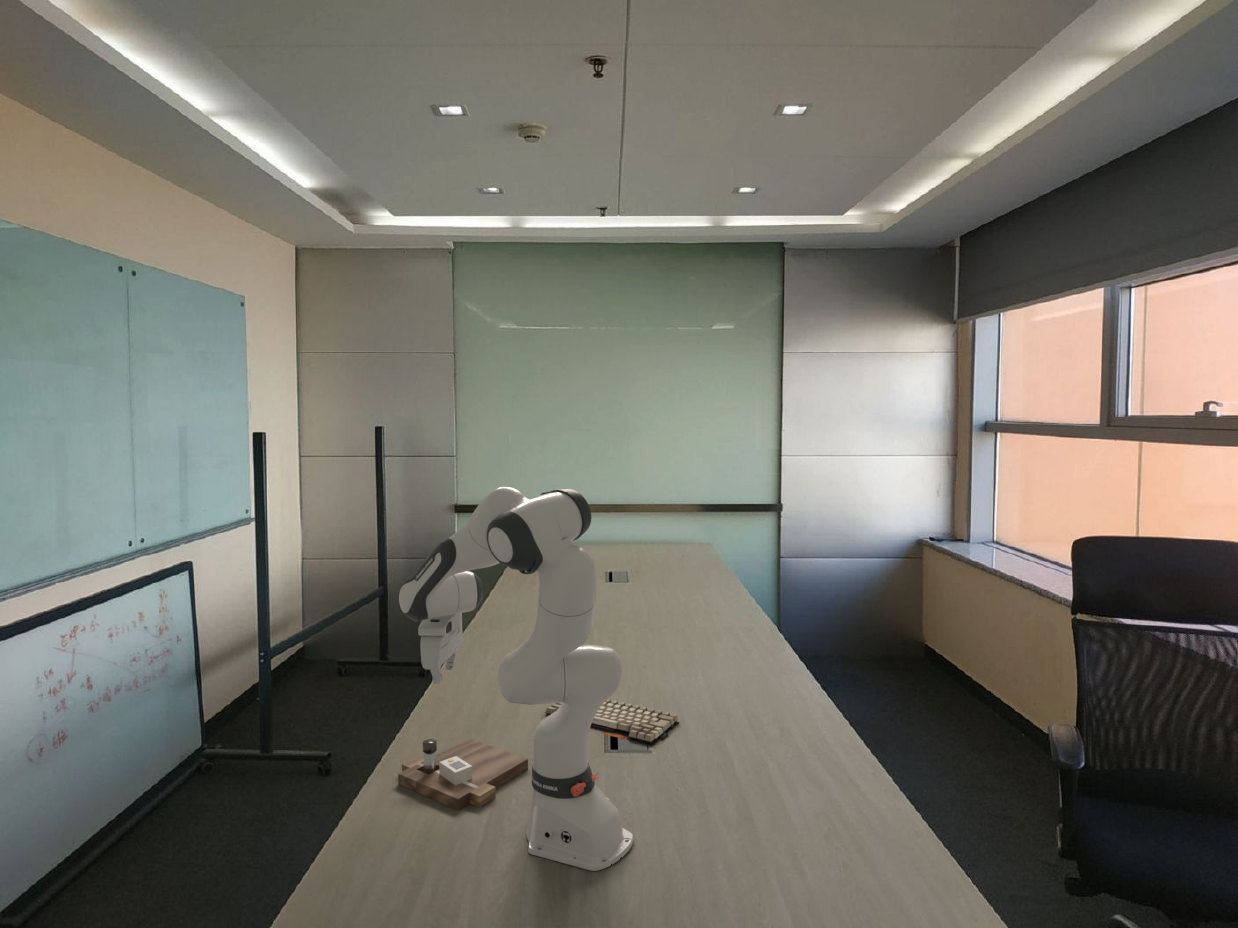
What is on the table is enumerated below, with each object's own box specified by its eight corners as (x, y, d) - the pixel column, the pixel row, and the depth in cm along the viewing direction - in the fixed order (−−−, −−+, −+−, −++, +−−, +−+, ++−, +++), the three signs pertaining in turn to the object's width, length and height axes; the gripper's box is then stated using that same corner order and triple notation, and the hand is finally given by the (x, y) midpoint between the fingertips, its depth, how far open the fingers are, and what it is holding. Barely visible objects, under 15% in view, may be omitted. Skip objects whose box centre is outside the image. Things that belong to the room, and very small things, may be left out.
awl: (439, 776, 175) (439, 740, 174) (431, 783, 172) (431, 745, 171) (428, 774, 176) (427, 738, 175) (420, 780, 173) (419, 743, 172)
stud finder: (472, 778, 169) (472, 765, 169) (455, 785, 166) (455, 771, 165) (456, 768, 174) (456, 755, 174) (439, 774, 171) (439, 761, 170)
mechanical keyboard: (537, 720, 209) (537, 708, 209) (572, 698, 226) (572, 687, 226) (655, 750, 191) (655, 737, 191) (684, 723, 208) (684, 712, 208)
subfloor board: (537, 772, 177) (537, 762, 177) (467, 814, 158) (467, 803, 158) (462, 744, 192) (461, 735, 192) (390, 780, 173) (389, 770, 173)
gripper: (444, 608, 185) (444, 661, 186) (415, 630, 165) (416, 690, 166) (468, 608, 185) (469, 662, 185) (442, 630, 164) (443, 691, 165)
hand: (443, 675), depth 175 cm, fingers open, 8 cm apart
